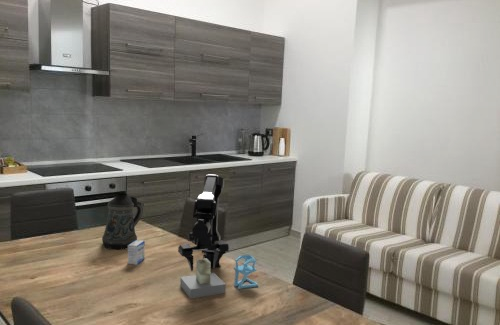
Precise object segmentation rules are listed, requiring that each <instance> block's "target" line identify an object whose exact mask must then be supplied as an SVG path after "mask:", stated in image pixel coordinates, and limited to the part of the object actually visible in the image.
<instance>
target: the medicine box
mask: <svg viewBox="0 0 500 325" xmlns="http://www.w3.org/2000/svg"><path fill="white" fill-rule="evenodd" d="M145 243H146V242H145V240H140V239H137V240H135V241H134V242H132V243H131V244H129V245H128V249H127V264H128V265H135V266H137V265H139V264H140V263H141V262H142V261H144V260H145V250H146V249H145V246H146V244H145Z"/></svg>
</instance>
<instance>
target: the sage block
mask: <svg viewBox="0 0 500 325" xmlns="http://www.w3.org/2000/svg"><path fill="white" fill-rule="evenodd" d="M195 265H196V267H195V275H196V280H197V281H198V282H199V283H200V284H204V283H210V273H212V272H211V270H212V268H211V262H210V261H209V260H208V259H207V258H203V257H202V258H197V259H196V264H195Z"/></svg>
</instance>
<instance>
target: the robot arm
mask: <svg viewBox="0 0 500 325" xmlns="http://www.w3.org/2000/svg"><path fill="white" fill-rule="evenodd" d="M224 188H225V178H224V177H221V176H219V175H218V174H206V175H205V176H204V177H203V191H202V193H201V194H198V195H197V198H196V200H195V201H194V206H193V207H194V208H193V213H192V218H193V219H196V222H195V223H194V225H193V227H192V229H191V230H192V232H188V233H187V238H186V239H187V241H188V242H191V243H192V244H194V245H193V246H191V245H190V244H189V243H184V244H179V245H178V247H177V248H178V249H177V250H178V251H177V252H178V253H179V254H180V255H181V257H184V258H185V259H186V261H187V262H188V265H189V269H190V272H193V270H194V255H193V254H194V252H200V251H201V254H203V255H202V259H203V258H207V259H208V260H209V261H210V262H211V269H212V268H213V269H216V268H219V267H221V264H220V260H221V258H222V257H223V255H225V254H226V253H227V252H229V251H230V246H229V244H228V243H227V242H226V241H225V240H222V239H221V234H220V233H219V231H218V223H219V222H218V218H219V198H220V195H221V194H222V193H223V191H224V190H223V189H224Z"/></svg>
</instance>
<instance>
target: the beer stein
mask: <svg viewBox="0 0 500 325" xmlns="http://www.w3.org/2000/svg"><path fill="white" fill-rule="evenodd" d="M107 208H108V213H107V219H106V225H105V227H104V228H105V229H104V231H103V235H102V238H101V241H102V245H103V248H105V249H108V250H115V251H118V250H119V251H120V250H121V251H122V250H128V245H129V244H131V243H132V242H134V241H135V240H138V236H137V234H136V230H135V227H136V226H137V224H138V223H139V222H140V219H141V218H142V216H143V211H144V209H143V205H142V202H140V201H138V199H137V197H136V196H133V195H129V194H128V193H117V194H116V196H115V197H113V198H112V199H111V200H109V201H108V202H107ZM134 208H136V209H137V210H136V213H135V216H134V214H133V209H134Z"/></svg>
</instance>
